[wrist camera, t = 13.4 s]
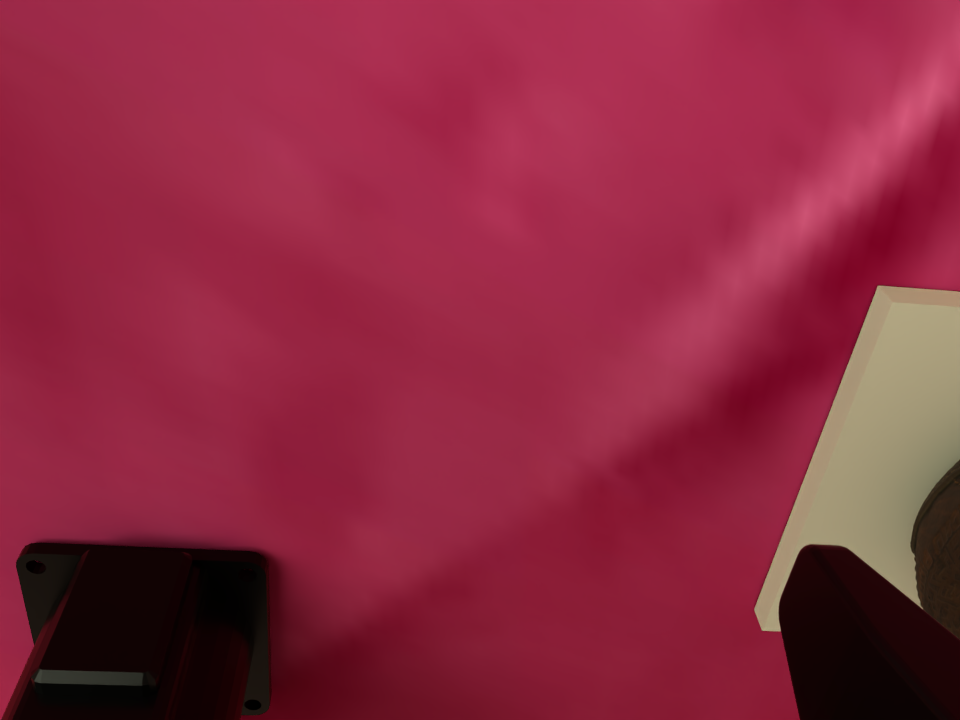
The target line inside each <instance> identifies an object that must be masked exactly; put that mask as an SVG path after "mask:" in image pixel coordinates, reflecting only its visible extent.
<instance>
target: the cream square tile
mask: <svg viewBox="0 0 960 720" xmlns="http://www.w3.org/2000/svg"><path fill="white" fill-rule="evenodd" d="M959 460H960V292H958V291H945V290H931V289H918V288H904V287H891V286H878V287H877V290H876V292H875V295H874V298H873V300H872V303H871V305H870V308H869V311H868V313H867V316H866V318H865V321H864V324H863V326H862V329H861V331H860V334H859V337H858V339H857V342H856V345H855V347H854V350H853V352H852V355H851V358H850V360H849V363H848V365H847V368H846V371H845V373H844V376H843V379H842V381H841V384H840V386H839V389H838V392H837V394H836V397H835V399H834V402H833V405H832V407H831V410H830V412H829V415H828V418H827V420H826V423H825V426H824V428H823V431H822V433H821V436H820V439H819V441H818V444H817V446H816V449H815V452H814V454H813V457H812V460H811V462H810V465H809V467H808V470H807V473H806V475H805V478H804V480H803V483H802V486H801V488H800V491H799V493H798V496H797V499H796V501H795V504H794V507H793V509H792V512H791V514H790V517H789V520H788V522H787V525H786V527H785V530H784V533H783V535H782V538H781V541H780V543H779V546H778V548H777V551H776V554H775V556H774V559H773V561H772V564H771V567H770V569H769V572H768V574H767V577H766V580H765V582H764V585H763V588H762V590H761V593H760V595H759V598H758V601H757V603H756V606H755V608H754V611H755V613H756V616H757V619H758V621H759V624H760V626H761V629H762V631H781V629H780V624H779V614H778V611H779V602H780V598H781V595H782V592H783V590H784V587H785V585H786V582H787V580H788V577H789V575H790V572H791V570H792V567H793V565H794V563H795V560H796V558H797V555H798V553H799V551H800V550H801V549H802V548H803V547H804V546H805V545H809V544H823V545H840V546H844V547H846V548H848V549H849V550H851V551H852V552H853V553H855V554H856V555H857V556H858V557H859V558H861V559H862V560H863V561H864V562H866V563H867V564H868V565H869V566H870V567H872V568H873V569H874V570H875V571H877V572H878V573H879V574H880V575H882V576H883V577H884V578H885V579H886V580H888V581H889V582H890V583H891V584H893V585H894V586H895V587H896V588H897V589H899V590H900V591H901V592H902V593H904V594H905V595H906V596H907V597H909V598H910V599H911V600H912V601H913V602H915V603H916V604H917V605H918V606H920V607H921V604H920V599H919V598H918V591H917V589H916V585H917V581H916V578H915V576H916V571H915V565H916V562H915V560H914V557H915V555H914V554H913V553H912V551H911V547H910V545H911V544H910V542H911V536H912V531H913V525H914V523H915V520H916V517H917V515H918V512H919V510H920V508H921V506H922V504H923V502H924V501H925V499H926V498H927V496H928V494H929V493H930V492H931V490H932V489H933V488H934V486H935V485H936V483H937V482H939V480H940V479H941V478H942V477H943V476H944V475H945V474H946V472H947V471H948V470H949V469H951V468H952V467H953V466H954V465H955V463H956V462H958V461H959ZM921 608H922V607H921ZM922 609H923V608H922Z"/></svg>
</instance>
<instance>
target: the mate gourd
mask: <svg viewBox="0 0 960 720" xmlns="http://www.w3.org/2000/svg"><path fill="white" fill-rule="evenodd" d="M910 544H911V545H910V547H911V551H912V553H913V554H914V555H915V557H914V560H915V562H916V565H915V571H916V576H915V578H916V581H917V585H916V589H917V591H918V598H919V599H920V604H921V607H922V608H923V610H924V611H926V612H927V613H928V614H929V615H931V616H932V617H933V618H934V619H936V620H937V621H938V622H939V623H940V624H942V625H943V626H944V627H945V628H947V629H948V630H949V631H950V632H951V633H953V634H954V635H955V636H956V637H958V638H959V639H960V460H959V461H958V462H956V463H955V465H954V466H953V467H952V468H951V469H949V470H948V471H947V472H946V474H945V475H944V476H943V477H942V478H941V479H940V480H939V482H937V483H936V485H935V486H934V488H933V489H932V490H931V492H930V493H929V494H928V496H927V498H926V499H925V501H924V502H923V504H922V506H921V508H920V510H919V512H918V515H917V517H916V520H915V523H914V525H913V531H912V536H911V542H910Z"/></svg>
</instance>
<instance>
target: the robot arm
mask: <svg viewBox="0 0 960 720" xmlns="http://www.w3.org/2000/svg"><path fill="white" fill-rule="evenodd" d="M35 560H36V561H40V562H42V563H39V562H36V561H35ZM16 568H17V572H18V576H19V581H20V585H21V590H22V594H23V598H24V603H25V607H26V611H27V616H28V620H29V625H30V629H31V633H32V638H33V642H34V647H33V649H32V652H31V654H30V656H29V658H28V661H27V663H26V665H25V667H24V670H23V672H22V674H21V676H20V679H19V681H18V683H17V685H16V688H15V690H14V692H13V694H12V697H11V699H10V701H9V703H8V706H7V708H6V710H5V712H4V715H3V717H2V719H1V720H240V718H241V715H260V714H263V713H265V712H266V711H267V710H268V709H269V706H270V700H271V654H270V612H269V571H268V562H267V560H266V559H265V558H264V557H263V556H262V555H260V554H258V553H256V552H250V551H230V550H206V549H181V548H157V547H133V546H108V545H84V544H60V543H31V544H29V545H27V546H25V547H24V549H23V550H22V552H21V554H20V555H19V557H18V559H17V562H16ZM244 569H252V570H253V571H246V570H244ZM778 614H779V624H780V629H781V633H782V638H783V643H784V647H785V652H786V657H787V661H788V666H789V671H790V675H791V680H792V685H793V689H794V694H795V699H796V703H797V708H798V713H799V718H800V720H960V639H959V638H958V637H956V636H955V635H954V634H953V633H951V632H950V631H949V630H948V629H947V628H945V627H944V626H943V625H942V624H940V623H939V622H938V621H937V620H936V619H934V618H933V617H932V616H931V615H929V614H928V613H927V612H926V611H924V610H923V609H922V608H921V607H920V606H918V605H917V604H916V603H915V602H913V601H912V600H911V599H910V598H909V597H907V596H906V595H905V594H904V593H902V592H901V591H900V590H899V589H897V588H896V587H895V586H894V585H893V584H891V583H890V582H889V581H888V580H886V579H885V578H884V577H883V576H882V575H880V574H879V573H878V572H877V571H875V570H874V569H873V568H872V567H870V566H869V565H868V564H867V563H866V562H864V561H863V560H862V559H861V558H859V557H858V556H857V555H856V554H855V553H853V552H852V551H851V550H849V549H848V548H846V547H844V546H840V545H823V544H809V545H805V546H804V547H803V548H802V549H801V550H800V551H799V553H798V555H797V558H796V560H795V563H794V565H793V567H792V570H791V572H790V575H789V577H788V580H787V582H786V585H785V587H784V590H783V592H782V595H781V598H780V602H779V611H778Z"/></svg>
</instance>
